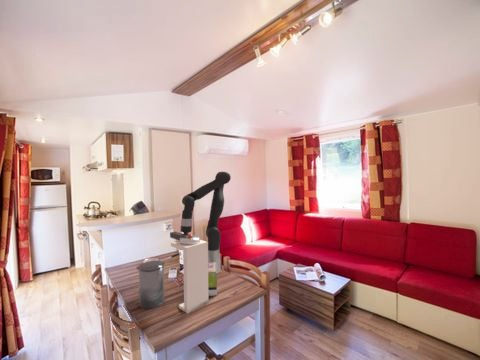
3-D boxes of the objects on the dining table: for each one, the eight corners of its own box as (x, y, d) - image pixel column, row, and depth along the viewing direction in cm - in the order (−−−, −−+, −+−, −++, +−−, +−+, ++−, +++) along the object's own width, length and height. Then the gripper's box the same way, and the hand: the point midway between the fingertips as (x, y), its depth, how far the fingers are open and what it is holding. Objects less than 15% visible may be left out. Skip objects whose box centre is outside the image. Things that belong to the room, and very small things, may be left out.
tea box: (201, 284, 148) (201, 262, 148) (217, 284, 149) (217, 261, 148) (199, 296, 133) (199, 271, 133) (217, 296, 134) (216, 271, 133)
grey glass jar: (162, 293, 136) (162, 259, 136) (166, 305, 124) (166, 267, 124) (138, 299, 130) (137, 263, 130) (139, 312, 118) (139, 272, 118)
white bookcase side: (171, 302, 126) (171, 242, 126) (192, 293, 137) (191, 237, 136) (187, 313, 116) (186, 247, 116) (208, 302, 127) (207, 241, 126)
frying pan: (178, 256, 202) (178, 249, 202) (184, 260, 192) (184, 253, 192) (140, 265, 183) (140, 257, 183) (145, 270, 172) (145, 262, 172)
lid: (164, 238, 134) (164, 231, 134) (180, 235, 142) (180, 228, 142) (187, 246, 118) (187, 238, 118) (204, 242, 126) (203, 234, 126)
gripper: (191, 227, 150) (189, 251, 150) (192, 223, 164) (191, 245, 164) (179, 226, 149) (177, 251, 149) (182, 222, 163) (180, 245, 163)
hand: (184, 248), depth 156 cm, fingers open, 8 cm apart
